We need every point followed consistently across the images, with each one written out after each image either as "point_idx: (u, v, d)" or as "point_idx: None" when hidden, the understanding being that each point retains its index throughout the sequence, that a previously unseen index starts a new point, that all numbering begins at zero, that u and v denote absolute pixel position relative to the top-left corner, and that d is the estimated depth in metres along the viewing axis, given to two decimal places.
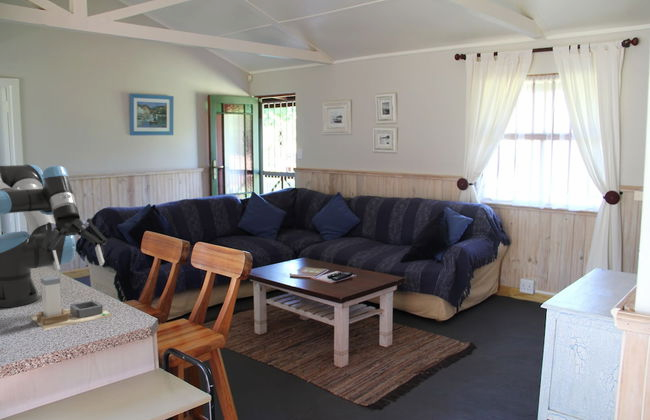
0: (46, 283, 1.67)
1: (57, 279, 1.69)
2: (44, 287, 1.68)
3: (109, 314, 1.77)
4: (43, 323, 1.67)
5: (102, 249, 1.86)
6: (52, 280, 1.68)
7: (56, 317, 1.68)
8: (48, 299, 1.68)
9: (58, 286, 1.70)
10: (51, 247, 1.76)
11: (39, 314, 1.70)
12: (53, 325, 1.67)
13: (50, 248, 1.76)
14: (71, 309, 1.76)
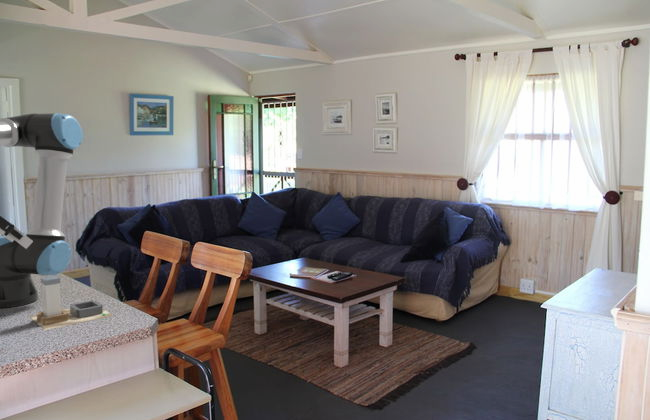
0: (46, 283, 1.67)
1: (57, 279, 1.69)
2: (44, 287, 1.68)
3: (109, 314, 1.77)
4: (43, 323, 1.67)
5: (14, 236, 1.56)
6: (52, 280, 1.68)
7: (56, 317, 1.68)
8: (48, 299, 1.68)
9: (58, 286, 1.70)
10: None
11: (39, 314, 1.70)
12: (53, 325, 1.67)
13: None
14: (71, 309, 1.76)
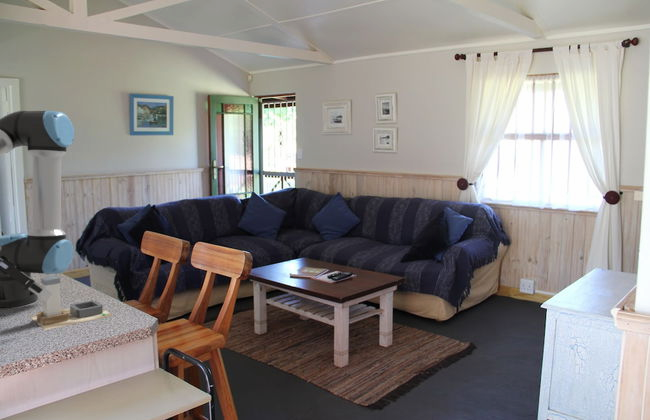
0: (46, 283, 1.67)
1: (57, 279, 1.69)
2: (44, 287, 1.68)
3: (109, 314, 1.77)
4: (43, 323, 1.67)
5: (34, 290, 1.59)
6: (52, 280, 1.68)
7: (56, 317, 1.68)
8: (48, 299, 1.68)
9: (58, 286, 1.70)
10: None
11: (39, 314, 1.70)
12: (53, 325, 1.67)
13: None
14: (71, 309, 1.76)
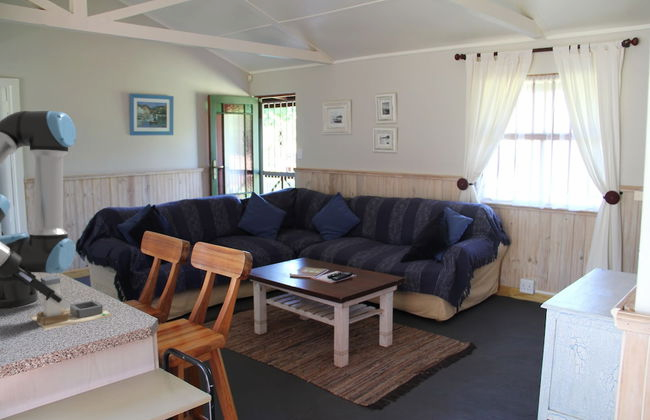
0: (46, 283, 1.67)
1: (57, 279, 1.69)
2: None
3: (109, 314, 1.77)
4: (43, 323, 1.67)
5: (54, 300, 1.68)
6: (52, 280, 1.68)
7: (56, 317, 1.68)
8: None
9: (58, 286, 1.70)
10: None
11: (39, 314, 1.70)
12: (53, 325, 1.67)
13: None
14: (71, 309, 1.76)
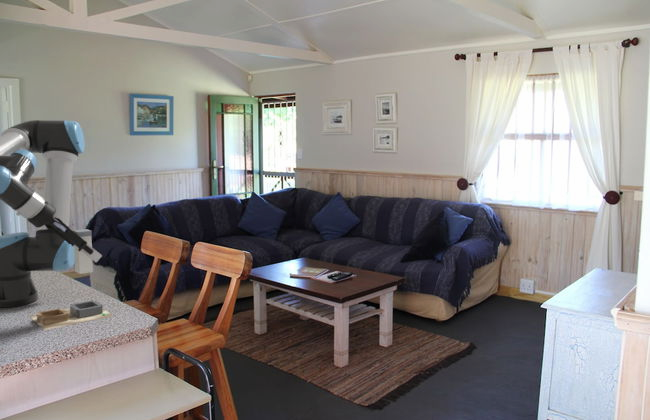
0: (78, 235, 1.72)
1: (89, 231, 1.74)
2: None
3: (109, 314, 1.77)
4: (43, 323, 1.67)
5: (86, 251, 1.72)
6: (84, 232, 1.73)
7: (56, 317, 1.68)
8: None
9: (90, 238, 1.74)
10: (71, 244, 1.75)
11: (39, 314, 1.70)
12: (53, 325, 1.67)
13: (71, 244, 1.76)
14: (71, 309, 1.76)
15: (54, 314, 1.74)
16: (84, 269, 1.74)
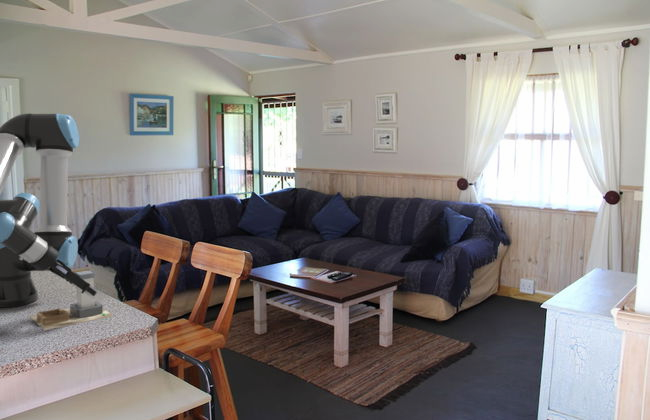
0: (81, 277, 1.74)
1: (91, 274, 1.76)
2: None
3: (109, 314, 1.77)
4: (43, 323, 1.67)
5: (90, 293, 1.72)
6: (86, 275, 1.75)
7: (56, 317, 1.68)
8: None
9: (92, 280, 1.76)
10: (69, 282, 1.79)
11: (39, 314, 1.70)
12: (53, 325, 1.67)
13: (70, 282, 1.79)
14: (71, 309, 1.76)
15: (54, 314, 1.74)
16: None
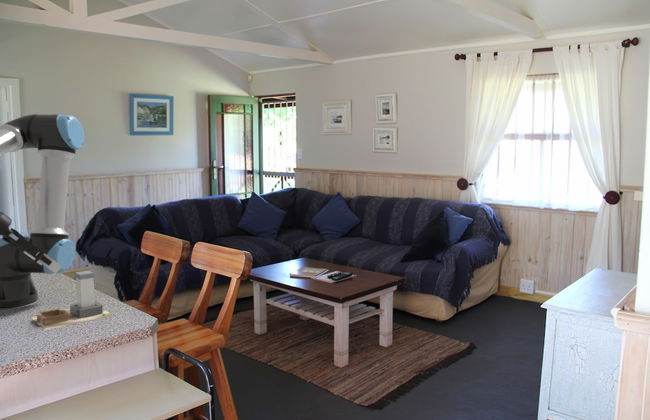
0: (81, 277, 1.74)
1: (91, 274, 1.76)
2: (79, 281, 1.75)
3: (109, 314, 1.77)
4: (43, 323, 1.67)
5: (44, 262, 1.61)
6: (86, 275, 1.75)
7: (56, 317, 1.68)
8: (82, 292, 1.75)
9: (92, 280, 1.76)
10: (20, 249, 1.70)
11: (39, 314, 1.70)
12: (53, 325, 1.67)
13: (20, 250, 1.70)
14: (71, 309, 1.76)
15: (54, 314, 1.74)
16: None
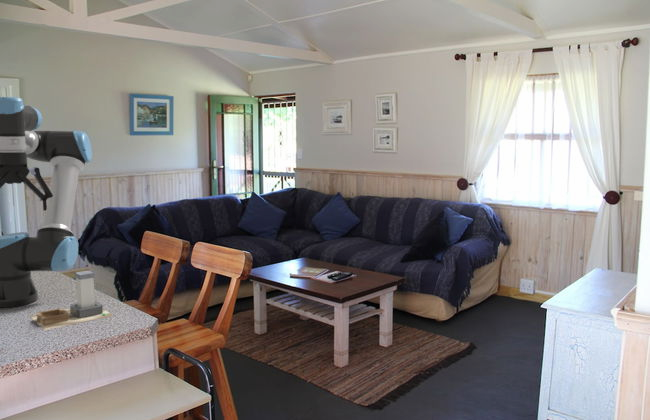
0: (81, 277, 1.74)
1: (91, 274, 1.76)
2: (79, 281, 1.75)
3: (109, 314, 1.77)
4: (43, 323, 1.67)
5: (45, 205, 1.70)
6: (86, 275, 1.75)
7: (56, 317, 1.68)
8: (82, 292, 1.75)
9: (92, 280, 1.76)
10: None
11: (39, 314, 1.70)
12: (53, 325, 1.67)
13: None
14: (71, 309, 1.76)
15: (54, 314, 1.74)
16: None
